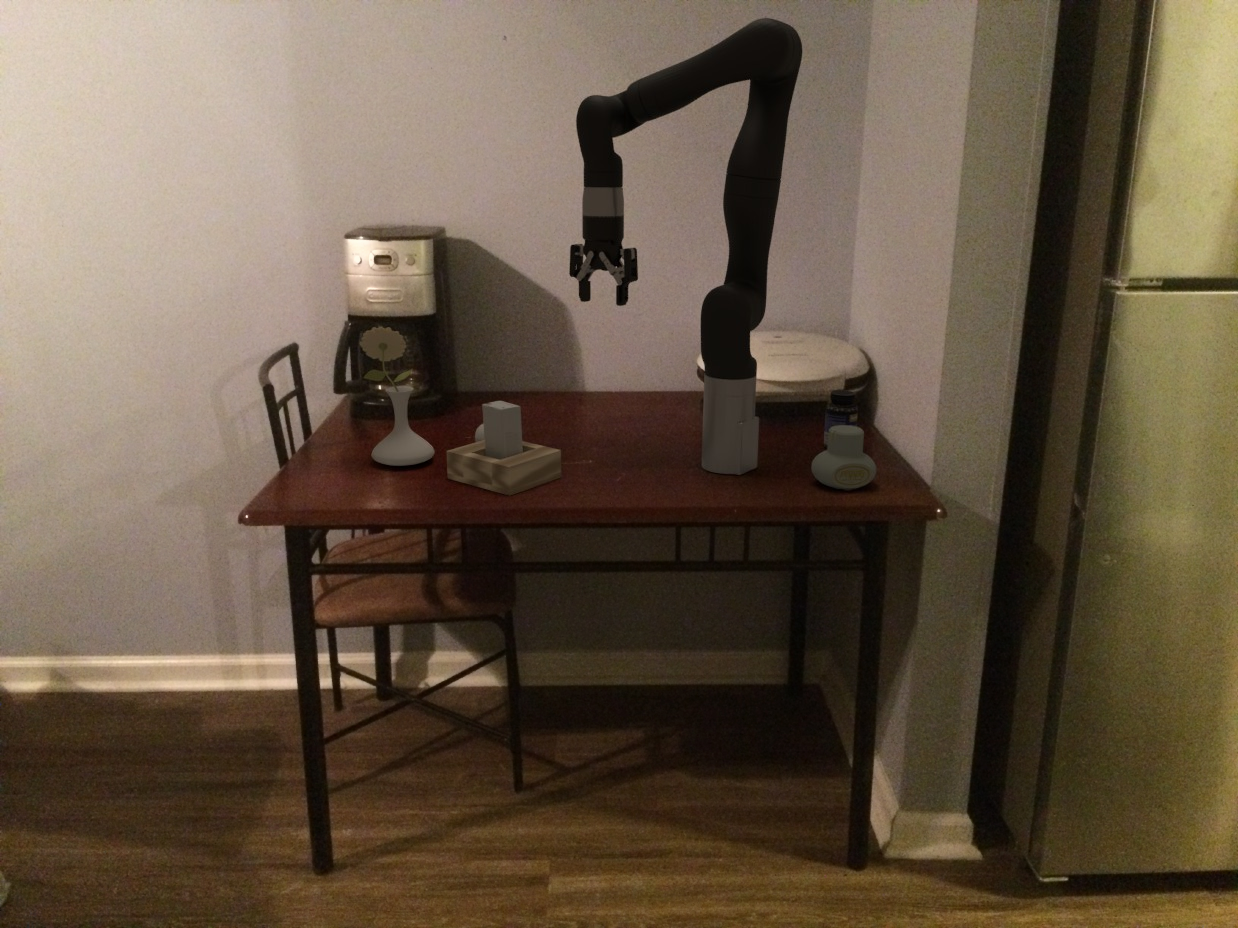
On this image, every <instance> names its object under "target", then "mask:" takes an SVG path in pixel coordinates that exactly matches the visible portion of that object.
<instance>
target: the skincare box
mask: <svg viewBox="0 0 1238 928" xmlns="http://www.w3.org/2000/svg"><path fill="white" fill-rule="evenodd" d="M481 405H482V407H481V408H482V418H483V419H482V420H483V421H482V424H483V423H484V438H485V452H486V457H490V458H494V459H498V460H501V459H505V458H508V457H511V456H514V455H517V454H520V453H523V444H522V441H523V428H522V412H521V411H522V410H521V409H522V408H521V406H520V405H517V404H513V403H510V402H506V401H503V400H495V401H491V402H485V403H483V404H481Z"/></svg>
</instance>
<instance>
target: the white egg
mask: <svg viewBox="0 0 1238 928" xmlns="http://www.w3.org/2000/svg"><path fill="white" fill-rule="evenodd" d="M469 438H470V436H467V437H466V439H469ZM483 440H485V438H484V423H483V422H482V423H481V424H480V425H479V426H478V427H477V428H476V431H475V434H474V441H475V443H476V442H479V441H483Z"/></svg>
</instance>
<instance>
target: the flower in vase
mask: <svg viewBox="0 0 1238 928" xmlns="http://www.w3.org/2000/svg"><path fill="white" fill-rule="evenodd" d="M403 338H404V336H403V335H402V334H400V331H398V330H397V331H394V330H392V328H391V327H389V326H388V327H386V328H384V327H383V326H378V327H374V326H373V327H372V328H371V329H370V330H366V331H365V332H363V334H362V337H361V338H360V339H361V341H359V345H360V347H361V348H362V351H363V352H365V355H366V356H368V357H369V358H371V359H373V360H375V359H378V361H380V362H382V370H383V372H382V371H380V370H378V369H371V370H369V371H368V372H367V373H366V374H365V375H364V376H363V379H365V380H371V381H375V382H381V381H382V380H384V378H385V376H386V378H387V379H388V381H389V382H390V383H391V384H392V386H389V387H387V388H385V392H386V393H387V394H388V396H389V398H390V399H391V403H392V406H393V411H394V412H393V413H394V426H393V429H392V431H391V432H390V433H389V434H387V436H386V437H384V438H383V439H382V440H381V441H380V442H378V443H377V444H376V446H374V448H373V449H372V453H371V457H372V459H373V460H374V461H375V462H377V463H380V464H383V465H385V466H387V465H388V466H391V467H392V466H395V467H397V466H398V467H399V466H401V467H402V466H403V467H404V466H412V465H418V464H422V463H424V462H426V461H429V460H430V459H432V457H433V456H434V455H435V453H436V452H435V449H434V447H433V446H432V445H431V444H430V443H429V442H428V440H426V439H424V438H423V437H421V436H420V435H419V434H417V433H416V432H415V431H413V430H412V429H411V427H410V424H409V420H408V404H409V399H410V396H411V394H412V392H413V391H414V387H412V386H409V385H396V384H395V383H396V382H401V381H404V380H405V379H407V378H408V377H409V376H410V375H411V374H412V372H413V368H411V369H410V370H408V371H405V372H403V373H400V374H399V375H397V377H395V379H394V380H392V379H391V377H390V376H389V375H388V373H387V371H386V368H385V362H391V360H393V361H395V360H397V358H402V357H403V356H404V352H406V350H405V349H406V348H408V347H407V342H406V341H405V339H403Z"/></svg>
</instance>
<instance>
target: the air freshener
mask: <svg viewBox="0 0 1238 928" xmlns="http://www.w3.org/2000/svg"><path fill="white" fill-rule="evenodd" d="M864 437H865V431H864V430H863V429H862V428H861V427H859V426H857V427H855V426H849V425H838V426H833V427H831V428H830V429H829V436H828V448H826V450H823V451H821V452H820V453H819V454H817V455H816V456H815V457H814V458H813V460H812V462H811V473H812V475H813V476H814V478H815V479H816V480H817V481H818V482H820V483H821V484H823V485H825V486H826V487H828V488H829V487H830V488H832V489H836V490H839V489H844V490H843V491H852V490H851V489H854V490H857V489H859V488H862V487H864V486H867V485H868V484H870V483H871V482H872V481H873V479H875V476H876V474H877V465H876V463H875V462H874V460H873V459H872V457H870V456H869V455H868V454H866V453H864V452H863V451H864Z"/></svg>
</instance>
